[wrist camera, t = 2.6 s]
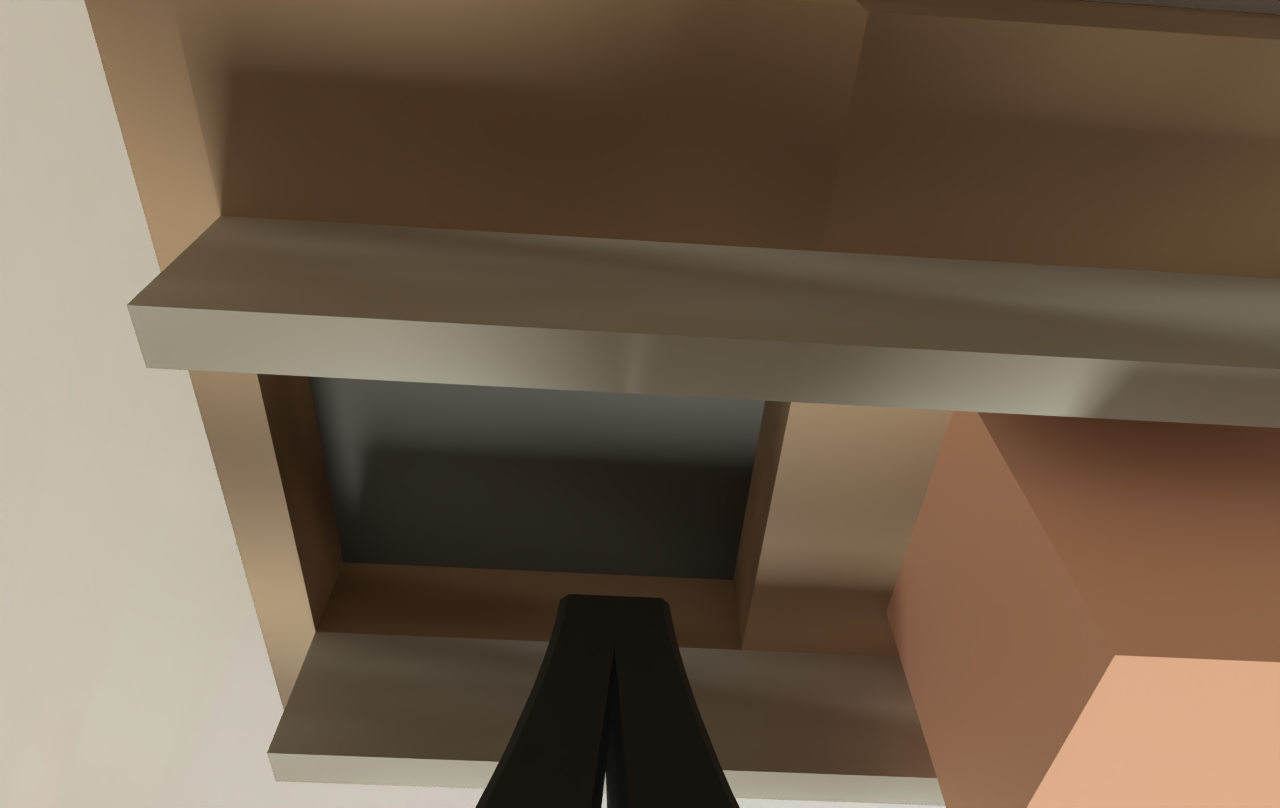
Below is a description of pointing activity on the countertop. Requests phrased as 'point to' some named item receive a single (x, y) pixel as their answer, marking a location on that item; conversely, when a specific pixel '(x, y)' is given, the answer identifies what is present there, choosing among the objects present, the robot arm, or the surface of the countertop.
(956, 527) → the block
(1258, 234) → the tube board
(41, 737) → the countertop surface
